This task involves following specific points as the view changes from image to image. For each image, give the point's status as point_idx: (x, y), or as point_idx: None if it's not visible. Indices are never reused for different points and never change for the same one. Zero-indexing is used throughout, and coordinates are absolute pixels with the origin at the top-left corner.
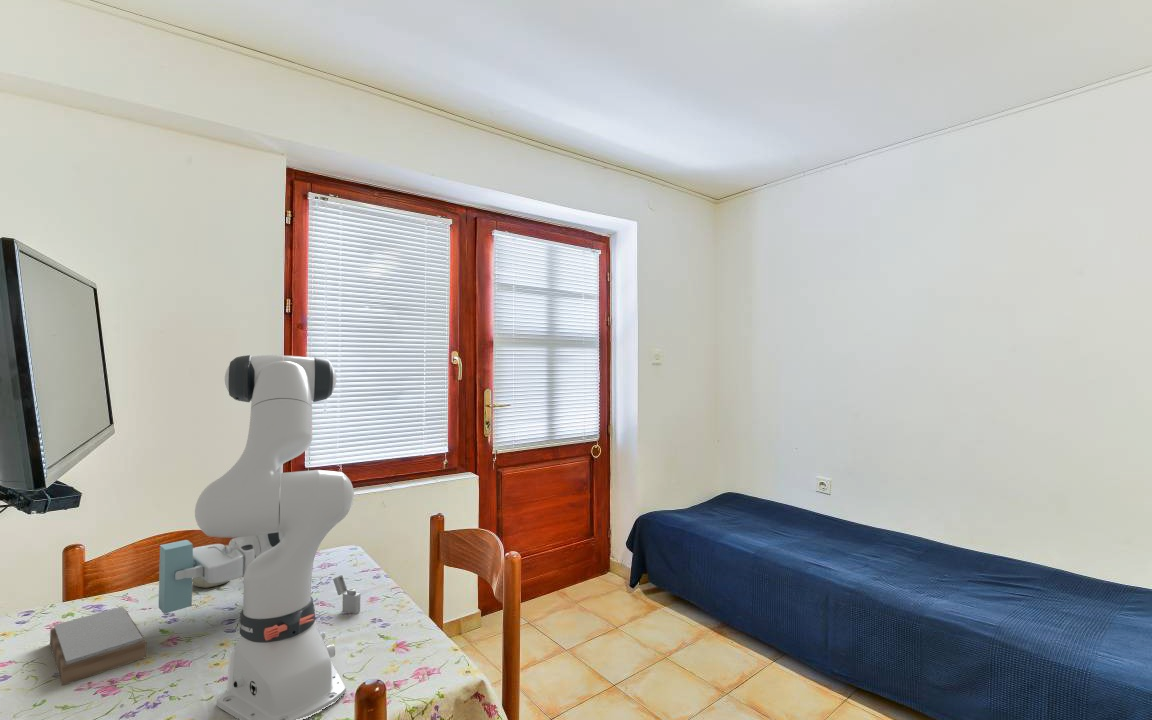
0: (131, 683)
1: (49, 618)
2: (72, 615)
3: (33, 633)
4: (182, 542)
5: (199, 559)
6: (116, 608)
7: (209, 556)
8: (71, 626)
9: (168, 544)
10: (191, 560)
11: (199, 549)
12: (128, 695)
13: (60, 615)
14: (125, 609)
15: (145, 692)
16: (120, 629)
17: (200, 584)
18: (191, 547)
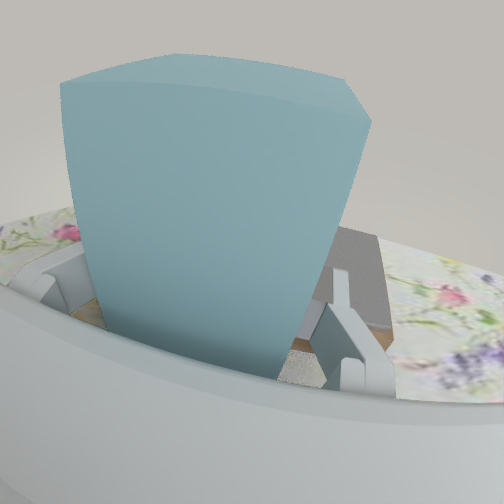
0: (53, 248)
1: (485, 299)
2: (481, 320)
3: (435, 271)
4: (260, 81)
5: (96, 333)
6: (389, 314)
7: (64, 429)
8: (340, 240)
9: (308, 75)
10: (89, 243)
11: (485, 487)
12: (33, 234)
13: (490, 310)
14: (386, 338)
15: (14, 244)
16: None
17: None
18: (70, 115)
